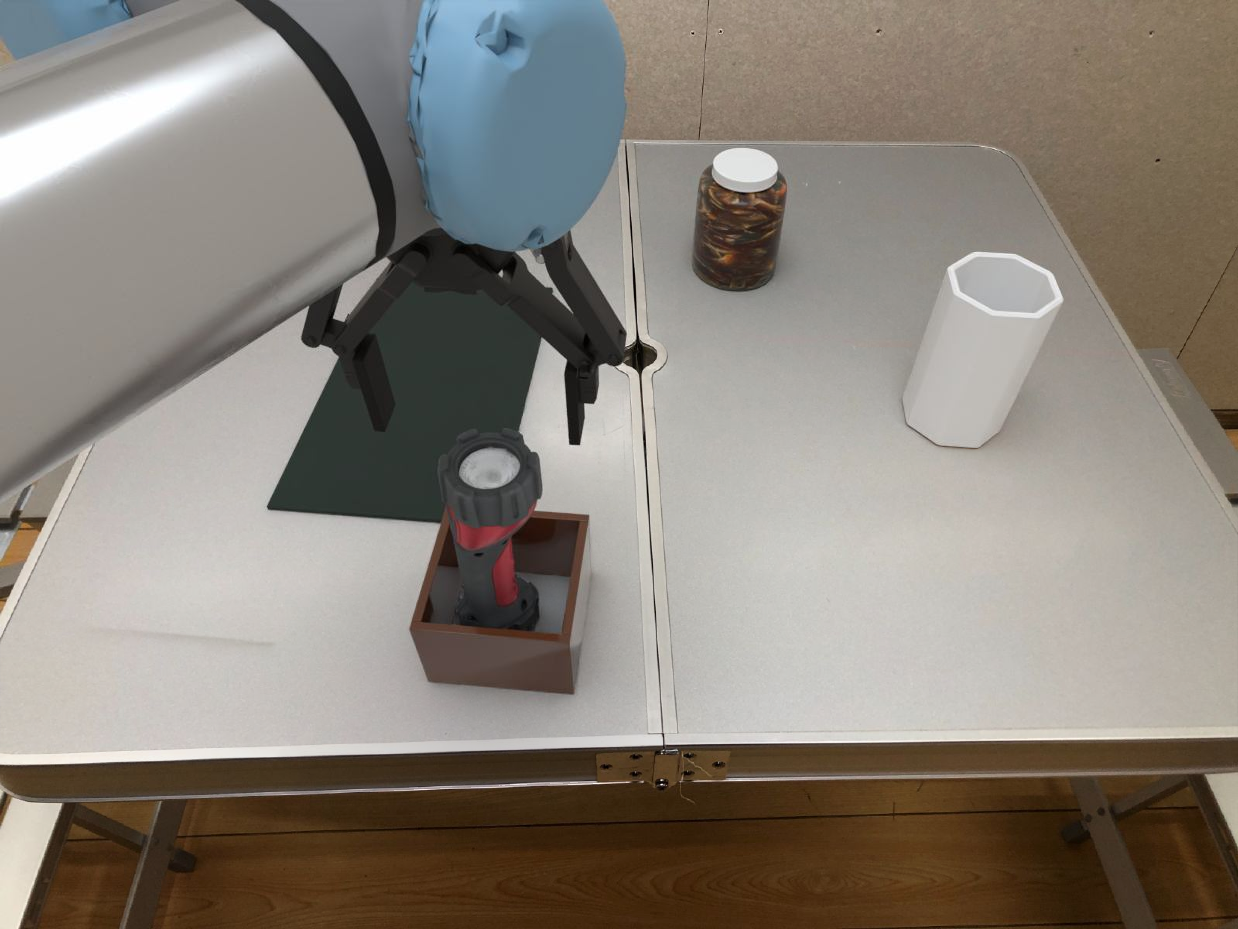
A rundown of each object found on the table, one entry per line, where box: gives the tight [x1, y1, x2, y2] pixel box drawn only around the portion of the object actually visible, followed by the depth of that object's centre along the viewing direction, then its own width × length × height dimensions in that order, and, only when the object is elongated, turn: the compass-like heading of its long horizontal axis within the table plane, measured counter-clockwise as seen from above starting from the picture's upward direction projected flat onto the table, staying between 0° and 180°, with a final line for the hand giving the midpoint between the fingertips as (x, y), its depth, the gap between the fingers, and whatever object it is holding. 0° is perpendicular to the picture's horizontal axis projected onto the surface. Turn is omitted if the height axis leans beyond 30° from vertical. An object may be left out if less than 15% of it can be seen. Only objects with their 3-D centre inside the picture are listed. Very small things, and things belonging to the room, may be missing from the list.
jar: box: [691, 147, 788, 292], centre depth 110 cm, size 12×12×15 cm
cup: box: [901, 251, 1064, 449], centre depth 89 cm, size 11×11×18 cm
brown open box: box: [409, 505, 593, 696], centre depth 75 cm, size 13×13×9 cm
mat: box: [266, 276, 554, 524], centre depth 99 cm, size 24×40×1 cm, turn 174°
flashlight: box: [438, 428, 543, 632], centre depth 70 cm, size 8×8×23 cm
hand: (480, 424), depth 58 cm, fingers open, 13 cm apart
